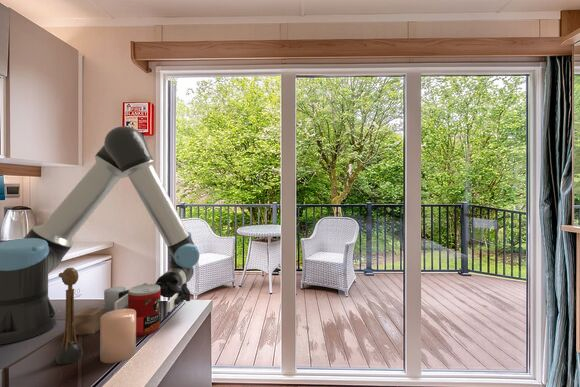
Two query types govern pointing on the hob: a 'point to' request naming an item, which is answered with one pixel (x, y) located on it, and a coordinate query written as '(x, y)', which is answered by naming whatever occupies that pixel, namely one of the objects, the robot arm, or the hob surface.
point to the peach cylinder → (117, 335)
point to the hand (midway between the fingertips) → (142, 307)
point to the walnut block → (88, 320)
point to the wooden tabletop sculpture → (69, 322)
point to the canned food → (145, 307)
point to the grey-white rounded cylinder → (111, 297)
